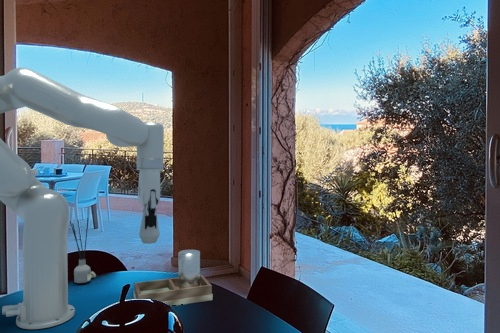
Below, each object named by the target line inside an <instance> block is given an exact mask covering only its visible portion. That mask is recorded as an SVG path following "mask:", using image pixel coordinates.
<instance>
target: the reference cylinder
mask: <svg viewBox="0 0 500 333" xmlns="http://www.w3.org/2000/svg"><path fill="white" fill-rule="evenodd" d="M177 256H178V257H177V258H178V260H177V261H178V263H177V264H178V272H177V273H178V275H177V276H178V289H182V288H189V287H197V286H200V275H201V251H200V250H199V249H198V250H197V249H182V250H180V251H179V252H178V255H177Z"/></svg>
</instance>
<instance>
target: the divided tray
mask: <svg viewBox="0 0 500 333" xmlns="http://www.w3.org/2000/svg"><path fill="white" fill-rule="evenodd" d="M212 287H213V285H212V284H211V283H210V282H209V281H208V279H207V278H206V277H205V276H204V275H203V274H201V273H200V286H197V287H189V288H182V289H178V277H170V278H161V279H153V280H147V281H146V280H145V281H140V282H139V281H138V282H133V292H132V293H133V299H134V298H135V299H152V300H157V301H161V302H163V303H165V304H167V305H170V307H173V306H172V305H176V306H181V304H183V305H188V304H194V303H200V302H201V303H202V302H208V301H213V297H214V296H213V293H212V292H213V290H212V289H213V288H212Z"/></svg>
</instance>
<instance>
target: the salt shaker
mask: <svg viewBox="0 0 500 333" xmlns="http://www.w3.org/2000/svg"><path fill="white" fill-rule="evenodd" d="M156 202H157V199H156ZM156 204H157V203H156ZM148 205H151V202H150V203H148ZM143 206H144V211H143V210H142V217H141V222H140V228H139V233H138V234H139V238H140V240H141V242H142V243H143V244H146V245H147V244H148V245H149V244H156V243H157V241H158V239H159V237H160V235H161V234H160V228H159V222H158V219H157V226H156V229H155V226H154V227H149V226H148V227H147V229H146V230H145V216H146V204H145V205H142V207H143ZM156 215H158V214H157V213H156Z"/></svg>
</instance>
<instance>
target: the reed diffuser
mask: <svg viewBox="0 0 500 333" xmlns="http://www.w3.org/2000/svg"><path fill="white" fill-rule="evenodd" d="M86 219H87V221H86V232H85V241H84V242H85V243H84V250H83V243H82V237H81V230H80V229H81V228H80V222H79V221H80V220H79V219H77V225H78V227H77V228H78V233H79V240H80V246H81V249H80V247H79V244H78V240H77V234H76V230H75V226H74V223H72V220H69V223H70V226H71V229H72V232H73V235H74V240H75V243H76V248H77V251H78V256H79V259H78V265H77V266H76V267H75V268H74V270H73V276H74V277H73V278H74V283H76V284H84V283H88V282H90V281H91V279H94V278H96V277H97V274H96V273H95V272H94V271H92V270H91V266H89V265H88V264H86V263H87V262H86V247H87V238H88V226H89V225H88V224H89V218H86Z"/></svg>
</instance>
